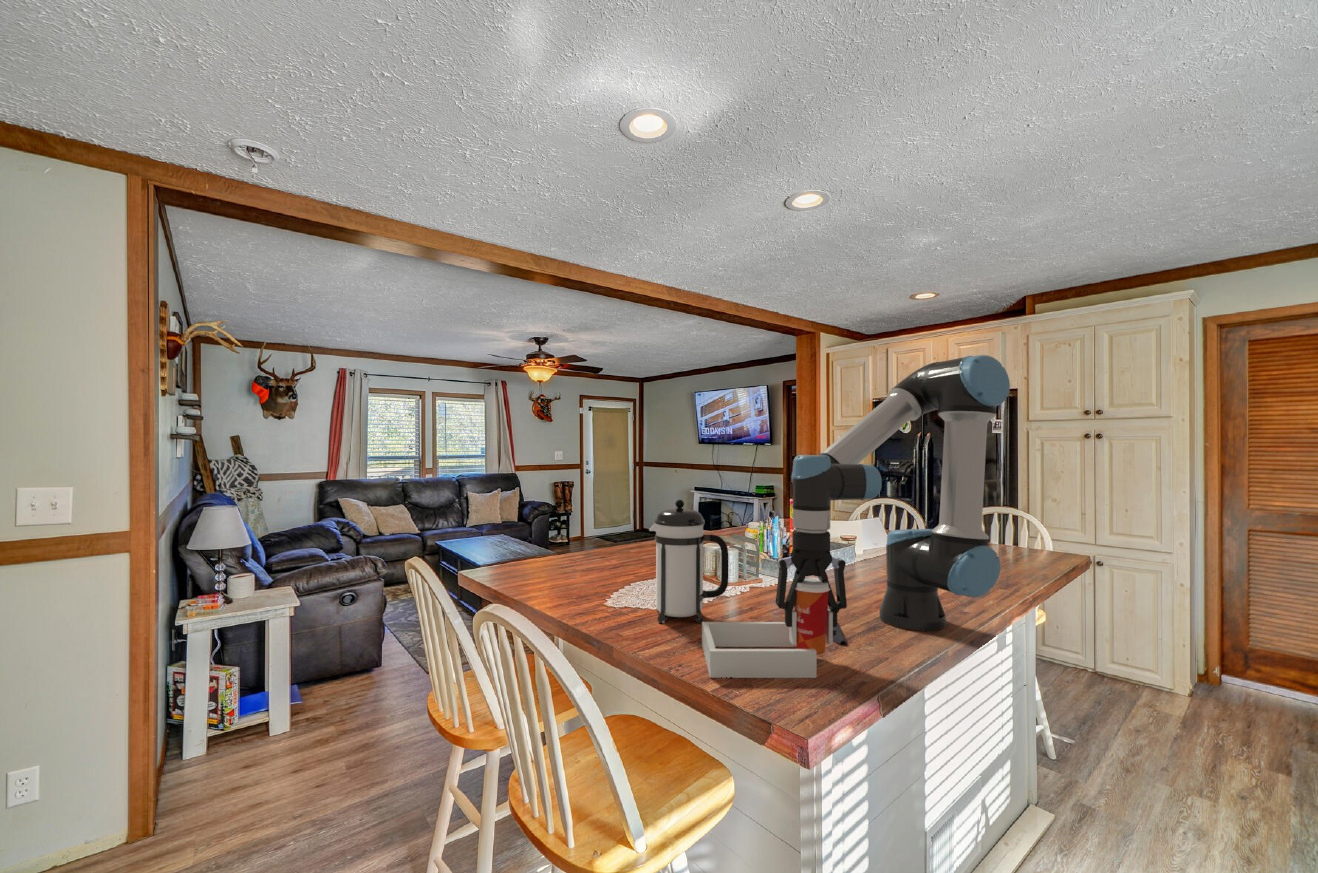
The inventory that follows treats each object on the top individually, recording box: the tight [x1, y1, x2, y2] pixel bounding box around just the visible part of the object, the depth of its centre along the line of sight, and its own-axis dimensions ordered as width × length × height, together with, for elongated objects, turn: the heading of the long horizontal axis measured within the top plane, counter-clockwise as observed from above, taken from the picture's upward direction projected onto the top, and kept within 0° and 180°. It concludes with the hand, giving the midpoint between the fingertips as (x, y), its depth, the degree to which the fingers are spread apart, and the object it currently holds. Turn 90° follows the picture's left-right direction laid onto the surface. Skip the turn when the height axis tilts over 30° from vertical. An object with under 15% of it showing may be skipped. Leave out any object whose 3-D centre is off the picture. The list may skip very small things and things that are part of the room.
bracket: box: [781, 620, 848, 646], centre depth 131 cm, size 14×15×3 cm
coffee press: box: [648, 499, 729, 624], centre depth 143 cm, size 17×16×30 cm
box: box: [701, 621, 817, 679], centre depth 114 cm, size 20×17×5 cm
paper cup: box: [793, 577, 830, 655], centre depth 114 cm, size 8×8×14 cm
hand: (810, 642), depth 114 cm, fingers closed on paper cup, 7 cm apart
